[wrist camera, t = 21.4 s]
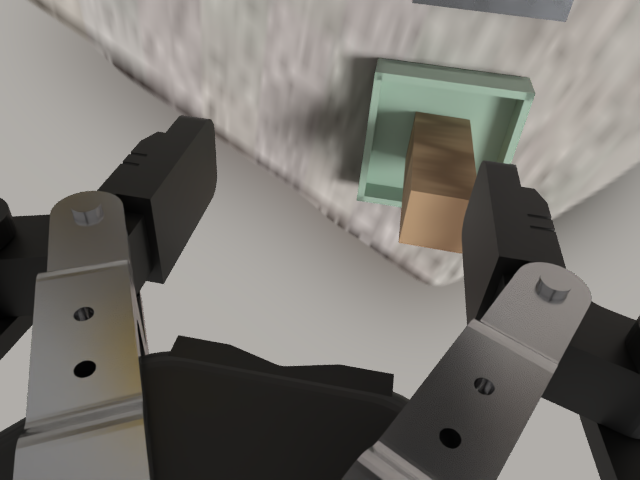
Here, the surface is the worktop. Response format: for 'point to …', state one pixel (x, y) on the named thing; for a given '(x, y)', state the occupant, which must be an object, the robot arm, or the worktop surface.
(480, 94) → the tray
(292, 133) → the worktop surface
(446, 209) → the brown wooden block
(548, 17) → the crank bed
